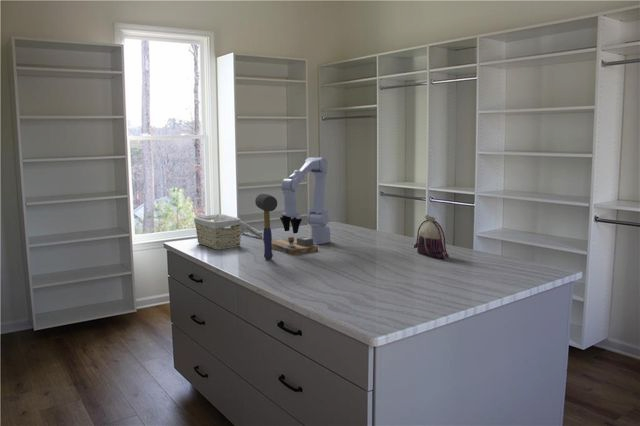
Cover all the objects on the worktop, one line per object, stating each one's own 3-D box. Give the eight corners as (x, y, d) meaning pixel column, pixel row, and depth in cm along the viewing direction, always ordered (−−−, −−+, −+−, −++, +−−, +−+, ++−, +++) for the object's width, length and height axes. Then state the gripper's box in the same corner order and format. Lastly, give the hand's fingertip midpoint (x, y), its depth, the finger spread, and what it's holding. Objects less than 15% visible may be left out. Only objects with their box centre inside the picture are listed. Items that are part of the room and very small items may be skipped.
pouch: (405, 252, 259) (405, 212, 256) (418, 250, 264) (418, 210, 261) (444, 262, 238) (445, 218, 236) (458, 259, 243) (458, 216, 240)
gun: (236, 229, 326) (237, 216, 324) (262, 245, 303) (263, 232, 301) (233, 229, 325) (234, 217, 323) (259, 246, 302) (260, 232, 300)
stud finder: (305, 242, 275) (305, 236, 275) (313, 244, 269) (313, 238, 269) (296, 244, 272) (296, 237, 272) (304, 246, 267) (304, 239, 266)
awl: (292, 250, 269) (292, 236, 268) (295, 251, 267) (295, 237, 266) (287, 251, 268) (287, 237, 267) (290, 252, 265) (290, 238, 264)
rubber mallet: (280, 261, 248) (278, 194, 243) (264, 263, 245) (262, 196, 240) (271, 256, 259) (269, 192, 255) (256, 257, 256) (253, 193, 252)
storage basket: (243, 246, 283) (242, 218, 281) (215, 251, 273) (213, 221, 271) (222, 240, 302) (220, 213, 300) (194, 244, 292) (192, 216, 290)
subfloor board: (290, 242, 289) (290, 238, 288) (319, 250, 268) (318, 245, 267) (264, 246, 280) (264, 242, 280) (292, 255, 259) (292, 250, 259)
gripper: (275, 203, 267) (276, 231, 269) (291, 206, 256) (292, 235, 258) (287, 202, 271) (288, 229, 273) (304, 204, 260) (304, 233, 262)
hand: (291, 232), depth 266 cm, fingers open, 7 cm apart
